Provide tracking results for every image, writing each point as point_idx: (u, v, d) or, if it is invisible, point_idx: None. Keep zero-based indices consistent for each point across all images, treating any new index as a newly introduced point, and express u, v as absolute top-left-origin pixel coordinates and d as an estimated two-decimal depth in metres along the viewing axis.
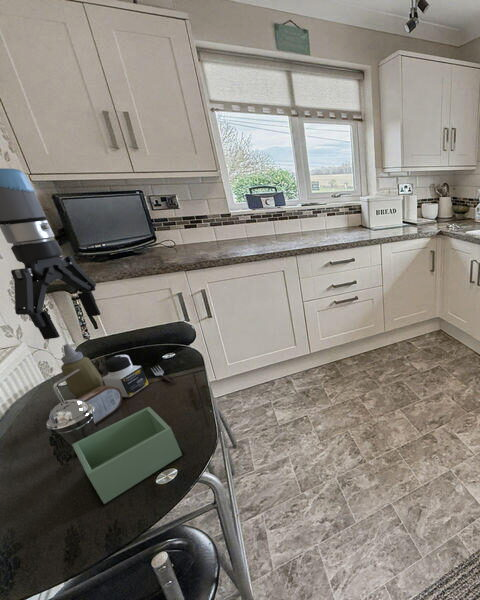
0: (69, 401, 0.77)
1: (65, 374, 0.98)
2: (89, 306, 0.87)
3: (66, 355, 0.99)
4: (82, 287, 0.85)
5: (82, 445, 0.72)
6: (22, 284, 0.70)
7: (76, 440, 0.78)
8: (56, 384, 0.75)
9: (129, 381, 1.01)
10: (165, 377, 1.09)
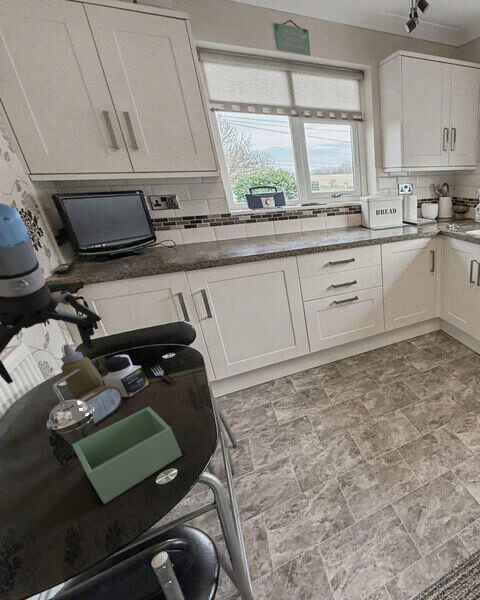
0: (69, 401, 0.77)
1: (65, 374, 0.98)
2: (83, 338, 0.76)
3: (66, 355, 0.99)
4: None
5: (82, 445, 0.72)
6: None
7: (76, 440, 0.78)
8: (56, 384, 0.75)
9: (129, 381, 1.01)
10: (165, 377, 1.09)
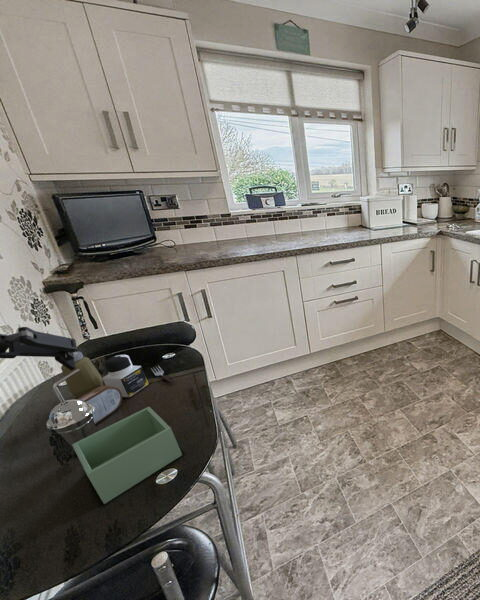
0: (69, 401, 0.77)
1: (65, 374, 0.98)
2: None
3: None
4: None
5: (82, 445, 0.72)
6: None
7: (76, 440, 0.78)
8: (56, 384, 0.75)
9: (129, 381, 1.01)
10: (165, 377, 1.09)
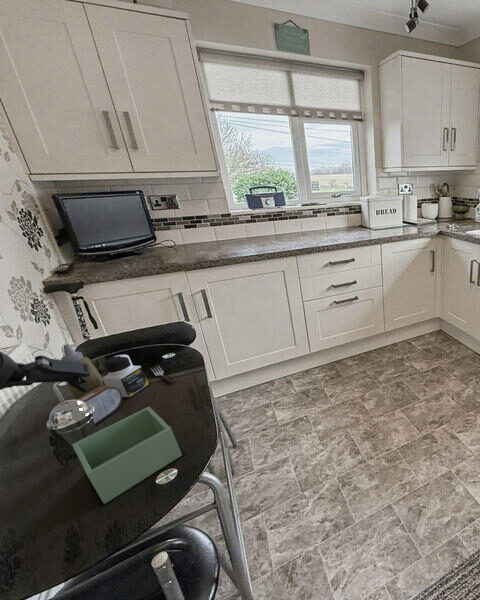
0: (69, 401, 0.77)
1: None
2: None
3: (66, 355, 0.99)
4: None
5: (82, 445, 0.72)
6: None
7: (76, 440, 0.78)
8: (56, 384, 0.75)
9: (129, 381, 1.01)
10: (165, 377, 1.09)
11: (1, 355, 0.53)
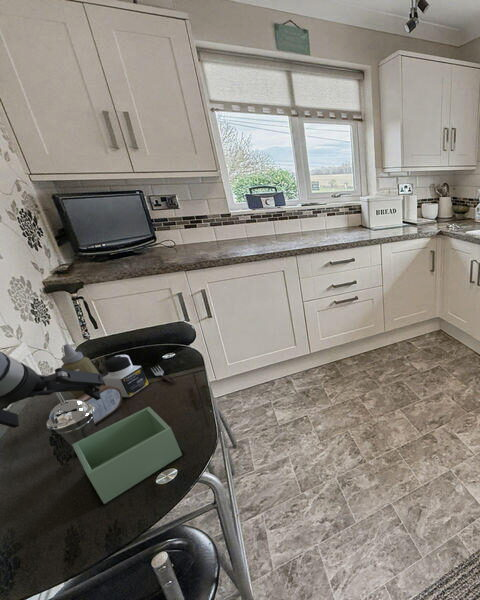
0: (69, 401, 0.77)
1: None
2: None
3: (66, 355, 0.99)
4: None
5: (82, 445, 0.72)
6: None
7: (76, 440, 0.78)
8: None
9: (129, 381, 1.01)
10: (165, 377, 1.09)
11: (26, 368, 0.58)
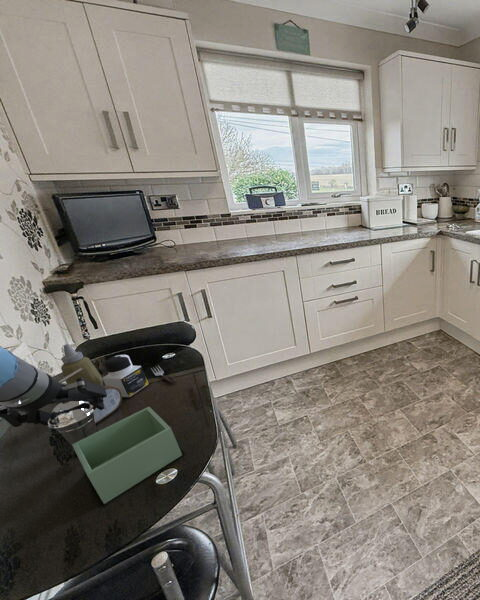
0: None
1: (65, 374, 0.98)
2: None
3: (66, 355, 0.99)
4: None
5: (82, 445, 0.72)
6: None
7: (77, 440, 0.78)
8: None
9: (129, 381, 1.01)
10: (165, 377, 1.09)
11: (50, 378, 0.66)
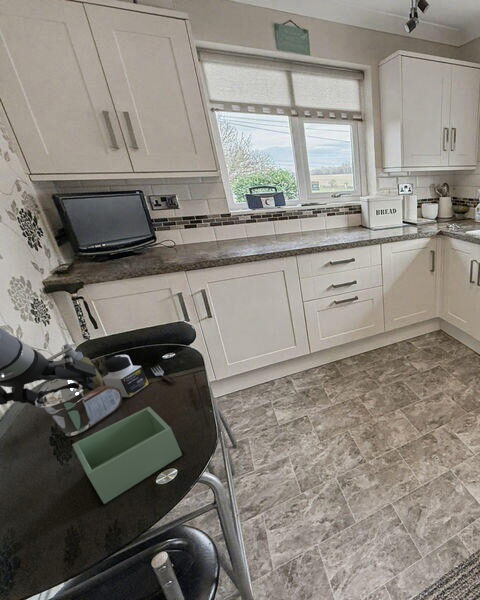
0: (59, 379, 0.75)
1: None
2: None
3: None
4: None
5: (82, 445, 0.72)
6: None
7: (65, 420, 0.76)
8: None
9: (129, 381, 1.01)
10: (165, 377, 1.09)
11: (36, 353, 0.64)
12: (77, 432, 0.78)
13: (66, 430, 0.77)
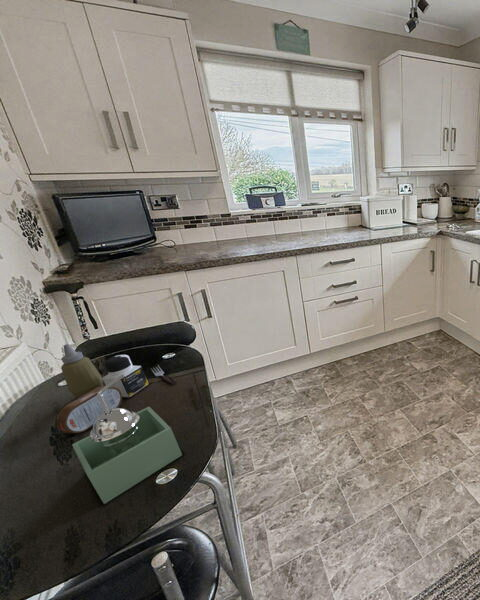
0: (113, 410, 0.70)
1: (65, 374, 0.98)
2: None
3: (66, 355, 0.99)
4: None
5: (82, 445, 0.72)
6: None
7: (121, 453, 0.71)
8: (100, 392, 0.68)
9: (129, 381, 1.01)
10: (165, 377, 1.09)
11: None
12: None
13: None
